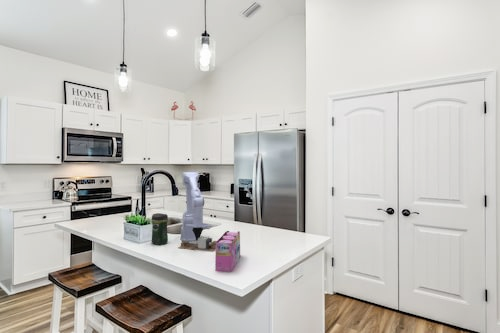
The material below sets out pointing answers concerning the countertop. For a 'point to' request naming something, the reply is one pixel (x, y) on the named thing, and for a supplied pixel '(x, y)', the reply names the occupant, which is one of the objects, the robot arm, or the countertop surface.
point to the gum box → (227, 251)
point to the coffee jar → (159, 228)
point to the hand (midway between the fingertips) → (197, 240)
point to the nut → (208, 243)
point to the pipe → (193, 242)
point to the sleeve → (202, 242)
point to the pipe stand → (195, 247)
